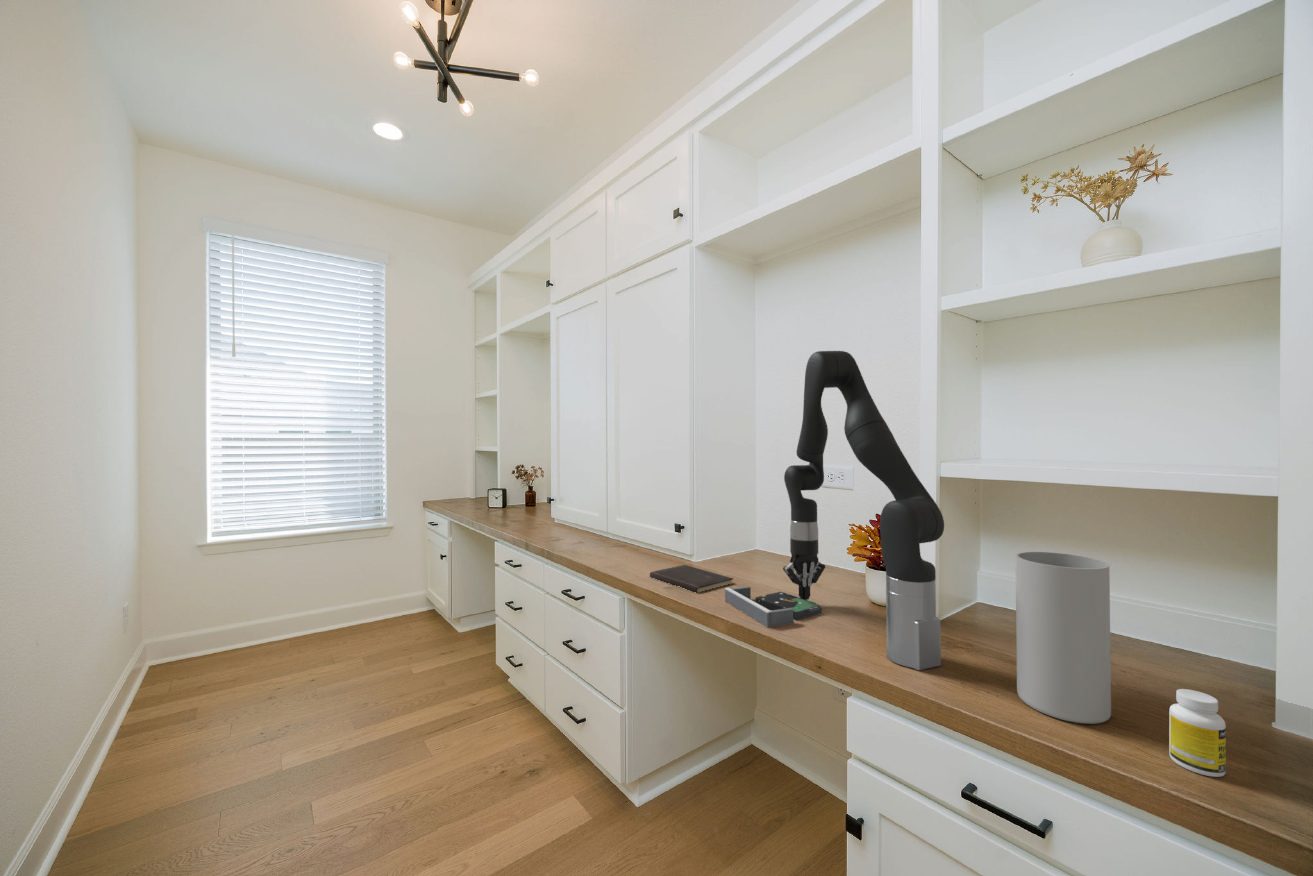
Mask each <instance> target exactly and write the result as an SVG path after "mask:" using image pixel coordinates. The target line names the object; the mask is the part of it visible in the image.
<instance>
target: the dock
mask: <svg viewBox="0 0 1313 876" xmlns="http://www.w3.org/2000/svg"><path fill="white" fill-rule="evenodd" d="M751 596H752V595H751V586H749V585H748V586H740V587H732V588H731V587H725V588H724V602H725V601H726V602H725V603H727V604H728V603H729V604H728V605H730V604H731V605H730V606H731V607H733V606H734V607H733V608H735V609H736V610H738V611H740V610H741V611H743V612H744V613H743V612H742V613H743V614H745V613H746V614H747V616H748V615H749V616H748V617H749V618H751V617H752V618H751V619H753V620H754V619H755V620H754V621H756V620H757V621H756V622H758V623H759V622H760V624H761V623H762V624H761V625H763V626H764V627H766V626H767V627H766V628H771V627H770V626H773V627H778V626H779V625H780V626H784V624H786V625H790V624H791V625H792V624H794V619H793V609H792V608H786V609H779V610H772V611H770V610H768V609H766V608H765V607H763V606H761V605H759V604H757V603H756V601H753V600H752V598H751ZM750 599H751V600H750ZM741 611H740V612H741ZM746 614H745V615H746ZM780 626H779V627H780Z"/></svg>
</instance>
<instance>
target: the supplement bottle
mask: <svg viewBox="0 0 1313 876" xmlns="http://www.w3.org/2000/svg"><path fill="white" fill-rule="evenodd" d="M1175 698H1176V699H1175V700H1176V702H1177V703H1172V704H1171V705H1170V707H1169V710H1168V711H1169V713H1168V715H1169V716H1168V718H1169V721H1168V722H1169V724H1168V726H1169V727H1168V730H1169V732H1168V734H1169V735H1168V738H1169V742H1168V743H1169V745H1168V748H1169V754H1168V755H1169V757H1170V759H1171V761H1173V762H1174V763H1176V765H1178V766H1180V767H1182V768H1183V769H1186V770H1187V771H1190V772H1193V773H1196V774H1199V775H1203V776H1207V777H1211V778H1212V777H1213V778H1220V777H1221V778H1222V777H1224V776H1225V775H1226V773H1227V772H1226V771H1227V767H1226V766H1227V765H1226V764H1227V762H1226V761H1227V759H1226V758H1227V757H1226V755H1227V753H1226V747H1227V746H1226V744H1227V743H1226V742H1227V741H1226V739H1227V728H1226V721H1225V720H1224V719H1223V717H1222V716H1221V715H1219V714H1217V713H1218V712H1219V700H1218V699H1217V698H1215V697H1214V696H1212V695H1210V694H1208V693H1205V692H1201V691H1198V690H1195V689H1193V690H1192V689H1187V688H1179V689H1176V696H1175Z"/></svg>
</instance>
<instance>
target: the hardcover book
mask: <svg viewBox="0 0 1313 876" xmlns="http://www.w3.org/2000/svg"><path fill="white" fill-rule="evenodd" d="M650 577H651V579H653V578H655V579H654V580H656V579H658V580H657V581H659V580H660V581H659V582H662V581H664V582H663V583H665V582H666V583H665V584H668V583H670V584H669V585H671V584H672V586H674V585H676V586H675V587H677V586H680V587H682V588H685V589H687V590H686V591H688V590H690V591H689V592H691V591H692V592H691V593H694V592H696V593H695V594H698V593H697V592H699V593H702V591H703V592H706V591H705V590H707V591H710V590H713V589H712V588H714V589H717V588H716V587H718V588H720V587H719V586H721V587H724V585H725V586H729V585H732V584H731V583H733V582H732V580H734V578H733V577H730V576H726V575H723V574H719V573H715V572H711V571H707V570H704V569H701V568H697V567H694V566H690V565H686V564H683V565H678V566H672V567H668V568H663V569H658V570H655V571H650V573H649V578H650ZM728 584H729V585H728ZM680 587H679V588H680ZM682 588H681V589H682ZM685 589H684V590H685ZM709 589H710V590H709Z"/></svg>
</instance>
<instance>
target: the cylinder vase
mask: <svg viewBox="0 0 1313 876" xmlns="http://www.w3.org/2000/svg"><path fill="white" fill-rule="evenodd" d="M1110 579H1111V578H1110V564H1109V563H1108V562H1106V561H1102V560H1099V559H1096V558H1092V557H1087V556H1082V555H1076V554H1075V555H1074V554H1069V553H1068V554H1067V553H1062V552H1061V553H1060V552H1049V551H1021V552H1017V553H1015V612H1016V614H1015V616H1016V617H1015V618H1016V619H1015V620H1016V621H1015V622H1016V623H1015V626H1016V627H1015V628H1016V630H1015V632H1016V692H1017V695H1018V696H1019V698H1020V700H1021V701H1022V702H1024V703H1025V704H1026V705H1027V706H1029V707H1031V709H1034V710H1036V711H1038V712H1040V713H1041V714H1045V715H1047V716H1049V717H1053V718H1055V719H1059V720H1062V721H1066V722H1070V723H1075V724H1082V725H1083V724H1084V725H1085V724H1087V725H1096V724H1097V725H1098V724H1102V723H1105V722H1107V721H1108V720H1109V719H1110V718H1111V716H1112V687H1111V686H1112V681H1111V676H1112V675H1111V674H1112V673H1111V671H1112V670H1111V665H1112V664H1111V604H1110V603H1111V595H1110V594H1111V592H1110V589H1111V588H1110V585H1111V584H1110V583H1111V581H1110Z"/></svg>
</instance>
